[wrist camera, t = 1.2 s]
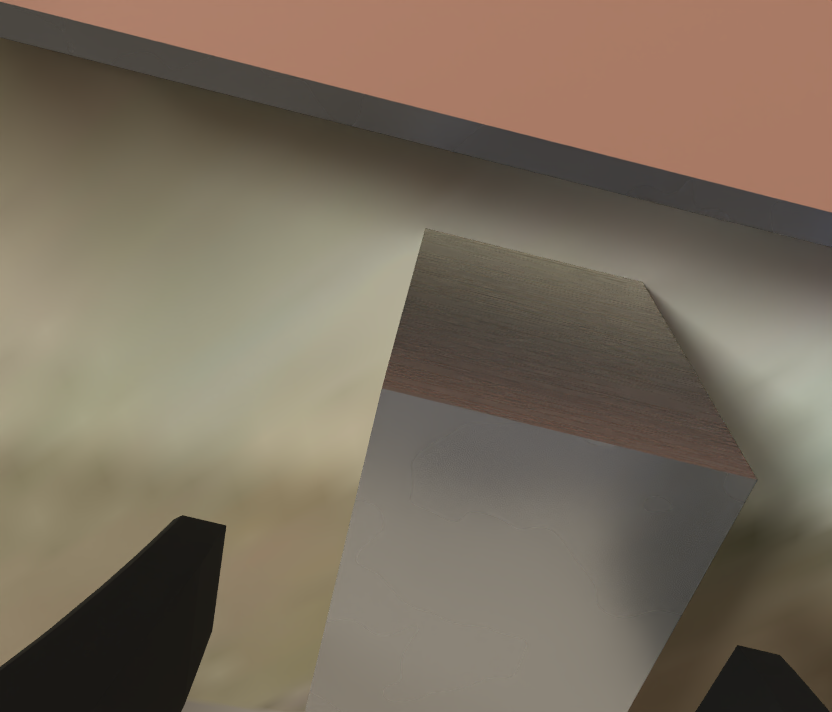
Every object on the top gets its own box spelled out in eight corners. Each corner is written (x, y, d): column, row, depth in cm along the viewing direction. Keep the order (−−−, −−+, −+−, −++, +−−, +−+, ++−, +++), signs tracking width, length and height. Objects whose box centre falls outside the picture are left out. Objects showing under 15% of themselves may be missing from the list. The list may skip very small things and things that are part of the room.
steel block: (641, 280, 13) (757, 480, 7) (514, 596, 16) (529, 886, 11) (426, 226, 13) (381, 388, 7) (345, 556, 16) (277, 828, 11)
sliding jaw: (1162, 83, 10) (1445, 114, 7) (1058, 238, 11) (1264, 322, 8) (-43, -231, 9) (-274, -336, 7) (-32, -39, 10) (-228, -57, 8)
